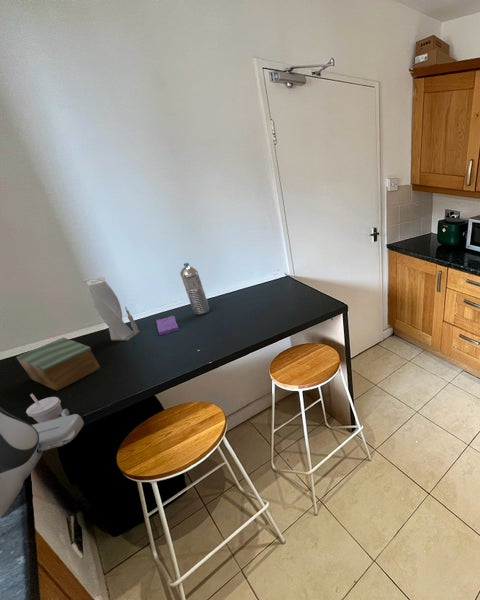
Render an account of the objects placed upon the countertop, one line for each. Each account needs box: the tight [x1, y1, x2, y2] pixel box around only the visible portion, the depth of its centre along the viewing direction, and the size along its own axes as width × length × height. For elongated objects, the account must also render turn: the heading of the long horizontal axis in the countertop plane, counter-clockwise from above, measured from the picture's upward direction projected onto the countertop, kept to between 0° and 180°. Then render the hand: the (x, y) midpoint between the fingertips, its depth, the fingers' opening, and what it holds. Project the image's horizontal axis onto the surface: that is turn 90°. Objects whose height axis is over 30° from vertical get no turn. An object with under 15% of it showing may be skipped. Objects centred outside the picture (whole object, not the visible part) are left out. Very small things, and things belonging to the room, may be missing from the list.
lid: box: [16, 337, 92, 371], centre depth 107 cm, size 16×13×1 cm
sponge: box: [155, 315, 180, 336], centre depth 139 cm, size 7×13×2 cm, turn 39°
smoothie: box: [25, 393, 63, 424], centre depth 86 cm, size 6×6×14 cm
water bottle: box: [179, 262, 211, 316], centre depth 145 cm, size 7×7×25 cm
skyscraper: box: [82, 276, 141, 342], centre depth 126 cm, size 8×8×28 cm
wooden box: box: [17, 348, 102, 392], centre depth 109 cm, size 16×13×9 cm
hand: (41, 417), depth 84 cm, fingers open, 8 cm apart
